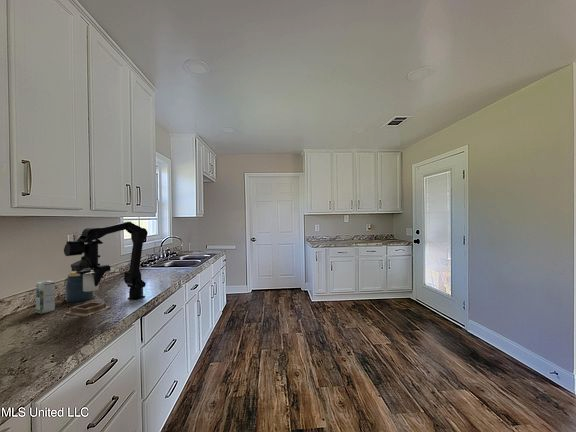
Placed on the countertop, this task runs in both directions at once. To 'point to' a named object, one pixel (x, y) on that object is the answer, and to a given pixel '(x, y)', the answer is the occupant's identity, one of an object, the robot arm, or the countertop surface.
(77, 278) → the canister
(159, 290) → the countertop surface
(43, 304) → the syrup box
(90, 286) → the towel roll
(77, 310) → the holder
